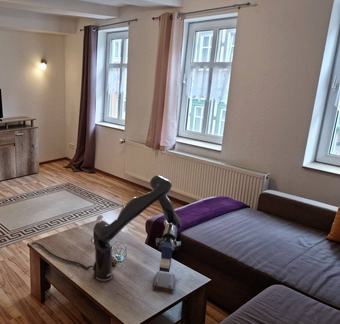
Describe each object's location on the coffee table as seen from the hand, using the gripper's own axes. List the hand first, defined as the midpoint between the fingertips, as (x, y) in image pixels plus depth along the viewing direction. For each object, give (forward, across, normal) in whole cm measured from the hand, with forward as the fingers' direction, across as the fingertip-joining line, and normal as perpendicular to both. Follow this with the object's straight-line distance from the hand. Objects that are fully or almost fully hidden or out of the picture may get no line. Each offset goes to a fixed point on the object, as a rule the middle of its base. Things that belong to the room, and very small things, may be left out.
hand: (166, 250), depth 176 cm
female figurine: (-32, -46, +21) cm, 59 cm away
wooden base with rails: (+1, 0, +21) cm, 21 cm away
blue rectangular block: (0, 0, +9) cm, 9 cm away
